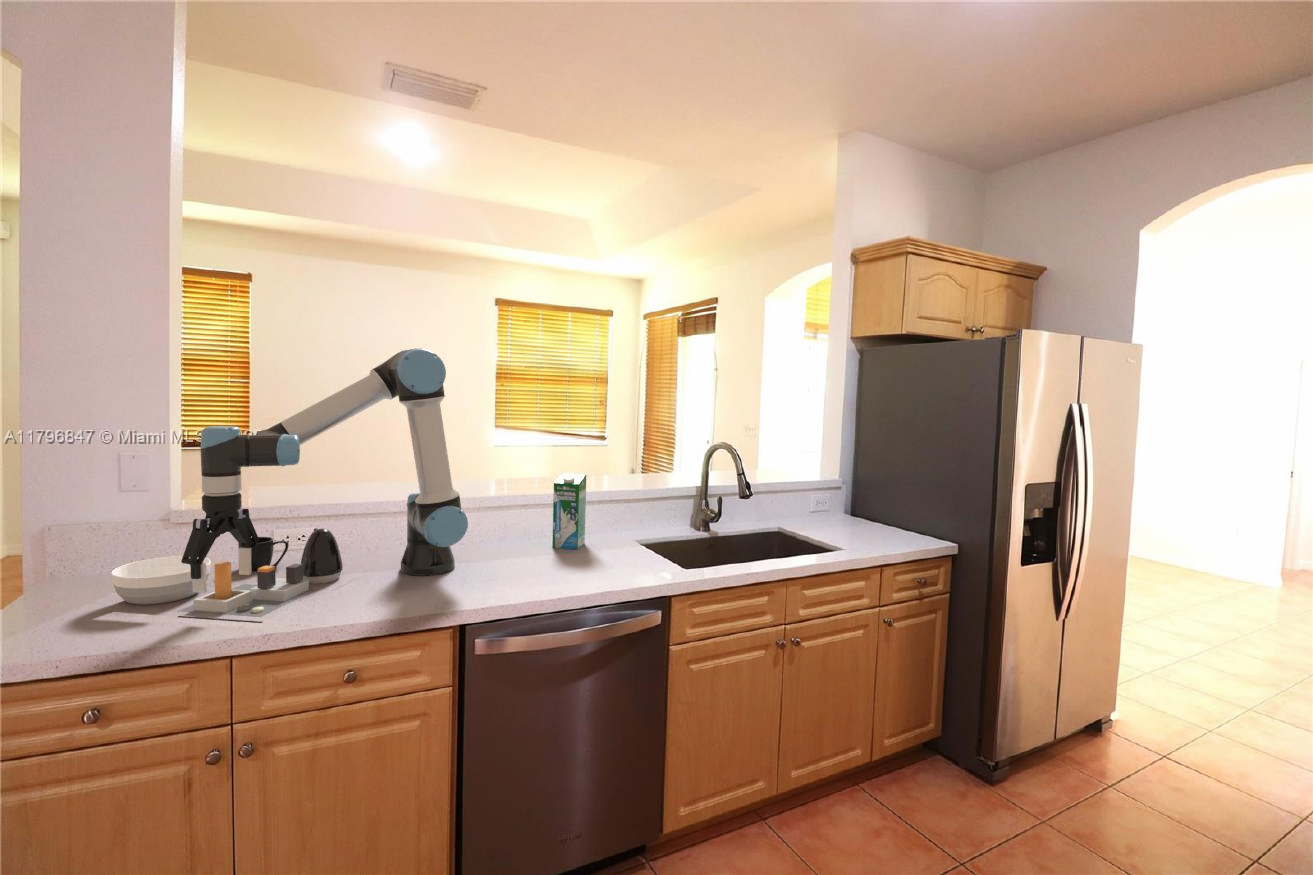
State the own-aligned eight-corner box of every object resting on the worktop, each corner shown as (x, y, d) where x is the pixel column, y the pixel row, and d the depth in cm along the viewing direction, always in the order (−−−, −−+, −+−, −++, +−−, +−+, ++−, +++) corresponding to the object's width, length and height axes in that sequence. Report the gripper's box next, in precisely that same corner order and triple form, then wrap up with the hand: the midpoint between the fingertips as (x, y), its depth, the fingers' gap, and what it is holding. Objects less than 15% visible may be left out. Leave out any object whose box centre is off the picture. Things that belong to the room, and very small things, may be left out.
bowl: (158, 587, 160) (157, 554, 159) (229, 590, 160) (228, 557, 159) (89, 613, 141) (88, 575, 141) (169, 617, 141) (168, 579, 140)
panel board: (316, 594, 159) (316, 579, 158) (260, 623, 139) (260, 605, 139) (243, 589, 160) (243, 574, 160) (178, 617, 141) (177, 600, 140)
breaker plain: (303, 579, 157) (303, 564, 156) (295, 583, 154) (295, 567, 153) (294, 579, 157) (294, 563, 157) (286, 582, 154) (286, 567, 154)
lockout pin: (235, 603, 146) (234, 562, 146) (225, 608, 143) (224, 566, 142) (222, 602, 146) (221, 561, 146) (211, 607, 143) (210, 565, 142)
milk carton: (552, 547, 213) (553, 476, 211) (560, 541, 222) (562, 472, 220) (577, 549, 212) (579, 477, 210) (584, 543, 220) (586, 474, 219)
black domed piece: (335, 575, 174) (335, 522, 173) (348, 585, 167) (348, 529, 166) (294, 582, 167) (294, 527, 166) (306, 592, 160) (305, 535, 159)
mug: (284, 575, 173) (284, 542, 172) (234, 578, 169) (234, 544, 168) (291, 567, 181) (291, 535, 180) (244, 570, 177) (243, 537, 176)
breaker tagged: (275, 585, 152) (275, 565, 152) (267, 588, 149) (266, 569, 149) (266, 584, 152) (265, 565, 152) (257, 588, 149) (257, 568, 149)
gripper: (246, 484, 155) (247, 566, 157) (159, 501, 131) (161, 599, 132) (274, 485, 155) (275, 568, 156) (192, 503, 130) (194, 601, 132)
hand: (223, 582), depth 144 cm, fingers open, 13 cm apart
